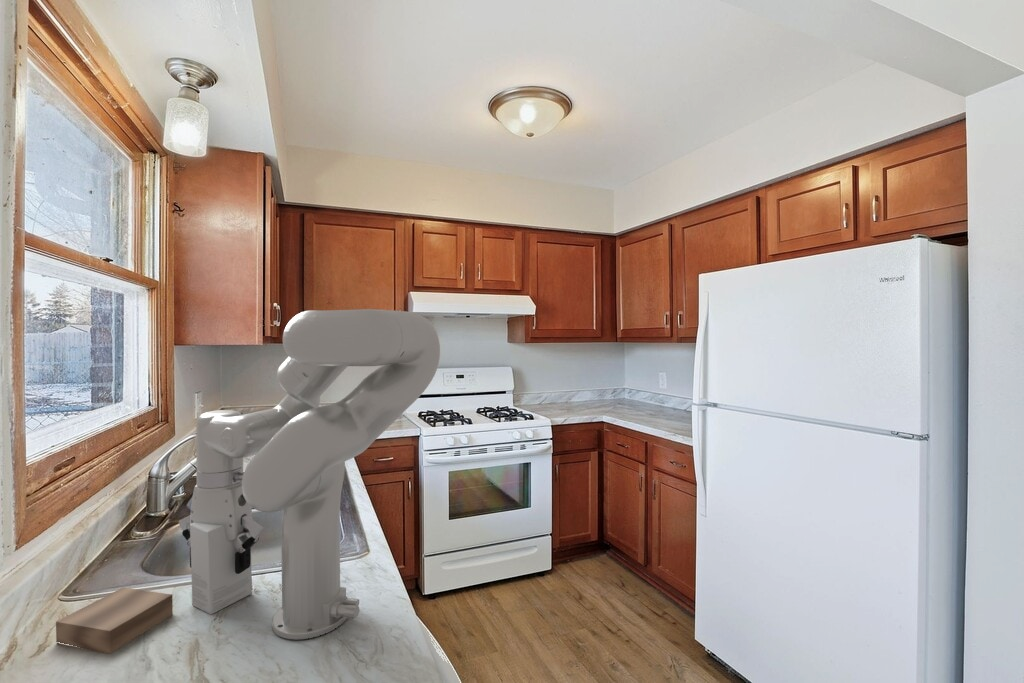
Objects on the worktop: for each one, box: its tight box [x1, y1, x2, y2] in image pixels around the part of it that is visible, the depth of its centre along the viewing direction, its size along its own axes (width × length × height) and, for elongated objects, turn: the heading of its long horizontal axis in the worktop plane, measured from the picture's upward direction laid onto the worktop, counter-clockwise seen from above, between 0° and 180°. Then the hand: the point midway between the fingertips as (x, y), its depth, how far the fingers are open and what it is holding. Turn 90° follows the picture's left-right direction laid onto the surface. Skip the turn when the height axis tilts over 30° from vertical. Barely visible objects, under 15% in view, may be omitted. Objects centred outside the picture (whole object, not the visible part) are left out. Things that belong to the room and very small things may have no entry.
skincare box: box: [190, 523, 253, 615], centre depth 93 cm, size 8×7×16 cm
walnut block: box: [55, 586, 174, 654], centre depth 84 cm, size 11×11×4 cm
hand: (220, 567), depth 93 cm, fingers open, 9 cm apart
